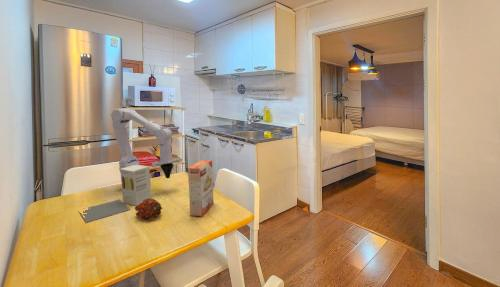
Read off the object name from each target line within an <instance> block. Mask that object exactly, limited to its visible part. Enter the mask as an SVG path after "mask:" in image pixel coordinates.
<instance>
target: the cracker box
mask: <svg viewBox="0 0 500 287" xmlns="http://www.w3.org/2000/svg"><path fill="white" fill-rule="evenodd" d="M187 177H188V180H187V181H188V194H189V195H188V197H189V211H190V212H189V213H190V216H192V217H203V216H205V214H206V213H207V212H208V211H209V209H210V208H211V207H212V206H213V205H214V182H213V181H214V180H213V179H214V178H213V177H214V176H213V160H210V159H209V160H208V159H200V160H198V161H197V162H196V163H193V165H190V166H189V167H188V168H187Z"/></svg>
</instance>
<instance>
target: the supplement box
mask: <svg viewBox="0 0 500 287" xmlns="http://www.w3.org/2000/svg"><path fill="white" fill-rule="evenodd" d="M119 173H120V181H121V190H122V200H123V201H122V202H123V203H124V204H127V205H131V206H135V207H136V206H137V205H139V204H140V203H142V202H143V201H144V199H153V196H152V195H153V194H152V186H151V185H152V184H151V172H150V166H149V165H148V166H147V165H141V164H140V165H132V166H129V167H125V168H122V169H120V170H119Z"/></svg>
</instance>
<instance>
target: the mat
mask: <svg viewBox="0 0 500 287" xmlns="http://www.w3.org/2000/svg"><path fill="white" fill-rule="evenodd" d="M87 208H88V210H85V212H84V211H83V213H87V214H83V215H84V216H85V218H84V217H83V218H82V219H83V221H84V222H85V224H87V223H91V222H95V221H98V220H101V219H104V218H108V217H111V216H115V215H118V214H121V213H124V212H129V211H131V208H129V207H128V205H126V203H124V202H123V201H121V200H120V199H116V200H112V201H109V202H108V201H107V202H104V203H100V204H98V205H92V206H90V207H87ZM89 208H90V209H89ZM83 215H82V216H83ZM82 216H81V217H82Z"/></svg>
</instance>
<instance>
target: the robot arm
mask: <svg viewBox="0 0 500 287" xmlns="http://www.w3.org/2000/svg"><path fill="white" fill-rule="evenodd" d="M110 117H111V119H112V120H111V121H112V125H111V126H112V129H113V132H114V136H115V139H116V143H117V145H118V149H119V153H120V156H121V158H120V160H119V161H118V165H119V167H118V169H119V171H120V169H122V168H125V167H129V166H132V165H141V163H140V161H139V160H138V157H137V156H136V155H134V154H133V150H132V148H131V147H132V146H131V143H130V140H129V136H128V133H127V130H126V129H127V128H126V126H127V124H128V123H129V122H130V121H134V122H136V124H137V123H138V124H139V125H142V126H143V127H144V130H146V132H149V134H152V135H153V136H155V138H156V140H157V142H158V146H159V147H158V148H159V161H158V160H157V161H155V162H151V167H152V168H156V167H160V168H161V170H162V172H163V174H164V177H165V179H170V177H171V174H172V173H171V172H172V170H173V167H174V164H175V163H181V158H179V157H177V158H176V157H175V158H173V155H172V142H171V139H172V137H173V132H172V130H171V129H170V128H169V127H165V126H163V125H160V124H158V123H157V121H156V120H148V119H146V118H145V117H144V116H142V115H141V114H139V113H138V112H137V111H136V110H135V109H133V108H131V107H126V108H125V107H124V108H121V107H120V108H114V109H113V110H112V111H111V114H110Z"/></svg>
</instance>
